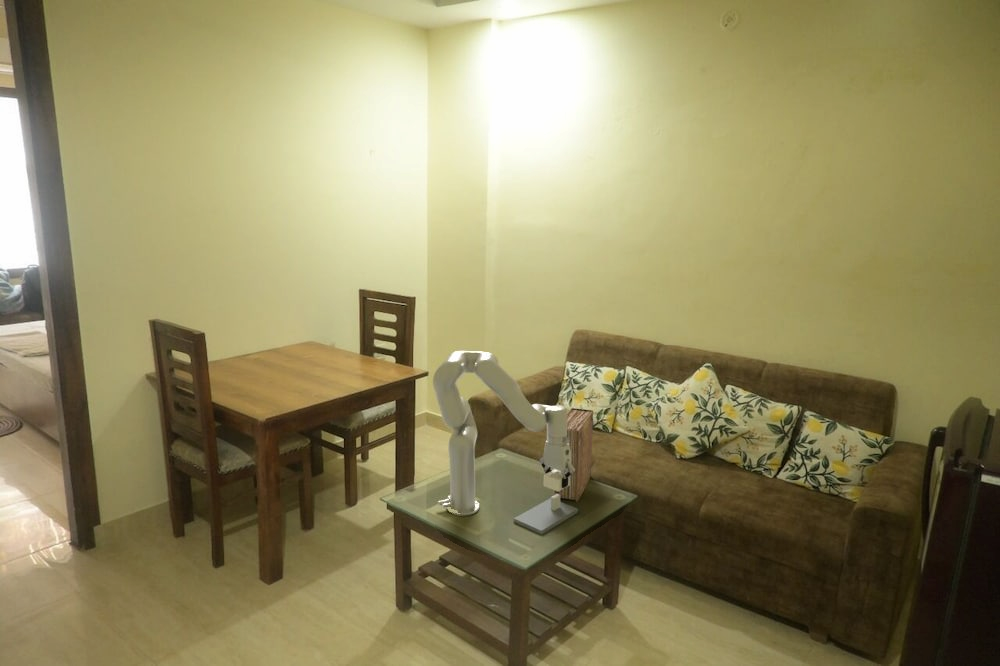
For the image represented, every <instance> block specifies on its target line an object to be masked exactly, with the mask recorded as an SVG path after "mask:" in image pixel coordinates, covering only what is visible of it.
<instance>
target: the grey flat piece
mask: <svg viewBox="0 0 1000 666" xmlns="http://www.w3.org/2000/svg"><path fill="white" fill-rule="evenodd" d="M578 512H579V508H577V507H575V506H572V505H570V504H567V503H565V502H562V501H561V498H560V495H559V494H556V495H555V494H554V495H552V496H550V498H548V499H547V500H545V501H543V502H541V503H539V504H538V505H535V506H534V507H532V508H530V509H529V510H527V511H525V512H523V513H521V514H519V515H518V516H516V517H514V518H513V523H514V524H517V525H519V526H522V527H524V528H526V529H529V530H531V531H533V532H535V533H538V535H539V534H540V535H541V536H542V535H544V534H545V533H547V532H548V531H551V529H553V528H555V527H556V526H558V525H559V524H561V523H563V522H565V521H566V520H568V519H570V518H571V517H573V516H574V515H575V514H578Z"/></svg>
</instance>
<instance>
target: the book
mask: <svg viewBox="0 0 1000 666" xmlns="http://www.w3.org/2000/svg"><path fill="white" fill-rule="evenodd" d="M593 420H594V410H589V409H582V408H574V407H571V408H570V409H569V411H567V439H569V446H570V451H571V465H572V466H573V467H574V468H575V471H574V472H573V473H572V474H571V475H570V485H569V486H567V487H566V488H564V489H562V490H560V491H556V490H554V495H556V494H559V495H560V499H566V500H572V501H575V502H576V503H577V502H579V500H580V499H581V497H582V494H583V492H584V491H585V489H586V487H587V485H588V483H589V481H590V479H591V478H592V456H593V455H592V454H593V453H592V452H593V451H592V449H593V427H594V426H593V425H594V423H593ZM568 471H570V470H569V468H568ZM564 472H565V471H564ZM565 473H566V472H565Z"/></svg>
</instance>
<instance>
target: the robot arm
mask: <svg viewBox="0 0 1000 666" xmlns="http://www.w3.org/2000/svg"><path fill="white" fill-rule="evenodd" d="M466 373H467V374H469V373H470V374H475V376H476V377H477V378H478V379H479V380H480V381H481V382H482V383H483V384H485V386H487V388H489V389H490V390H491V391H492V392H493V393H494V394H495V395H496V396H497V397H498V398H499V399H500V400H501V401H502V403H503V404H504V405H505V406H506V408H507V409H508V410H509V411H510V413H511V414H512V415H513V417H514V418H516V419H517V421H519V423H520V424H522V425H523V426H524V427H525V428H526V429H528V430H529V431H531V432H534V433H538V432H541V431H543V430H544V429H545V427H546V441H545V443H544V449H543V456H541V457H540V458H538V461H539V463H540V464H541V467H542V468H543V472H544V474H546V473H548V472H550V471H552V470H554V469H556V470H559V471H561V473H562V476H563V478H562V488H565V487H567V486H568V477H569V476H570V475H571V474H572V473H573V472H574V471H575V468H574V467H573V466H572V465H571V451H570V446H569V439H567V413H568V409H567V408H566V407H565V406H563V405H556V404H555V405H547V404H541V403H533V404H531V403H530V402H529V401H528V399H527V398H526V396H525V395H524V393H523V391H522V389H521V387H520V385H519V384H518V382H517V381H516V379H514V378H513V377H512V376H511V375H510V374H509V373H508V372H507V371H506V370H505V369H504V368H502V367H501V365H499V360H498V358H497V356H496V355H495V354H493V353H492V352H488V351H487V352H486V351H472V350H471V351H470V350H469V351H467V350H456V351H452V352H451V353H450V354H448V356H447V357H446V358H445V360H444V361H443V362H442V363H441V364H440V366H438V367H437V369H436V371H435V372H434V374H433V379H432V385H433V390H434V393H435V396H436V400H437V404H438V407H439V411H440V414H441V418H442V421H443V423H444V424H445V426H446V427H448V428H449V429H451V431H452V433H451V435H450V438H449V441H448V445H447V446H448V458H449V492H450V493H449V494H450V495H448V496H447V498H446V499H444V500H443V499H440V500H438V501H437V504H439V505H441V506H442V508H447V507H451V509H454V510H457V511H458V513H460V514H457V513H453V512H452V514H451V515H454V516H459V517H461V516H462V517H465V516H471V515H474V514H475V513H477V512H478V511H479V510H480V503H479V502H478V501H477V500H476V460H475V456H476V455H475V447H476V441H477V438H478V429H477V425H476V422H475V418H474V415H473V412H472V409H471V406H470V404H469V402H468V401H467V399H466V398H465V397H462V396H461V395H460V391H459V388H458V385H457V381H458V380H459V379H460V378H462V377H463V376H464V374H466ZM568 468H569V470H570V471H568ZM564 471H565V472H566V474H565V472H564ZM439 505H438V506H439Z"/></svg>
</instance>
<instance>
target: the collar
mask: <svg viewBox="0 0 1000 666" xmlns="http://www.w3.org/2000/svg"><path fill="white" fill-rule="evenodd" d="M551 470H552V471H550V472H548V473H546V474H545V473H544V474H543V487H545V488H547V489H551V490H553V491H555V490H556V491H560V490H562V489H564V488H562V478H563V476H562V473H561V471H559V470H556V469H551ZM565 474H566V473H565ZM569 485H570V476H569V477H568V486H569ZM565 488H566V487H565Z"/></svg>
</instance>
